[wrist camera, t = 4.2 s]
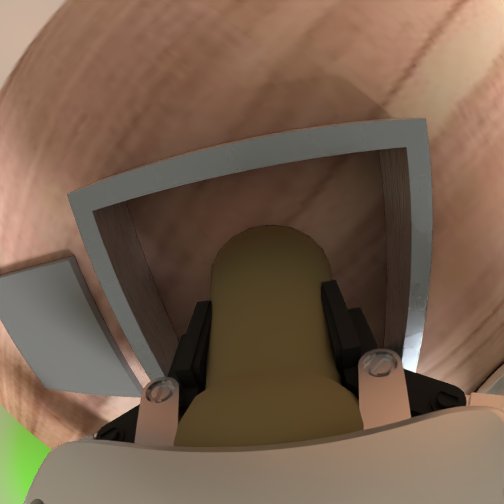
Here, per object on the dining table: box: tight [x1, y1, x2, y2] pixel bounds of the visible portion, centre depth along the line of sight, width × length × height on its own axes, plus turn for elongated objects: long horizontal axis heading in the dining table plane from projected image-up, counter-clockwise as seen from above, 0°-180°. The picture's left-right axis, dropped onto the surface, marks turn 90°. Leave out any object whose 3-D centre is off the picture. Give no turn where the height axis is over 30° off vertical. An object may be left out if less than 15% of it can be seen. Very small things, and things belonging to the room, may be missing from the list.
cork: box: [173, 225, 364, 447], centre depth 10 cm, size 6×6×11 cm
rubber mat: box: [0, 256, 143, 397], centre depth 17 cm, size 11×11×1 cm
